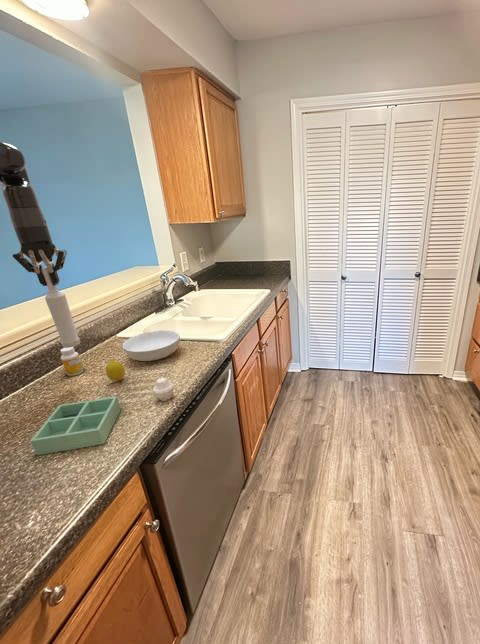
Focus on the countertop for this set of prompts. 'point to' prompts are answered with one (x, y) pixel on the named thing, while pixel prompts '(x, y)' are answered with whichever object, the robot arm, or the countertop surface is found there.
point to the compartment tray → (77, 426)
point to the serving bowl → (152, 345)
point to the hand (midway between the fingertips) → (51, 284)
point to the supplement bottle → (71, 361)
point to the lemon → (115, 370)
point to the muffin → (163, 389)
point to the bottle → (60, 313)
